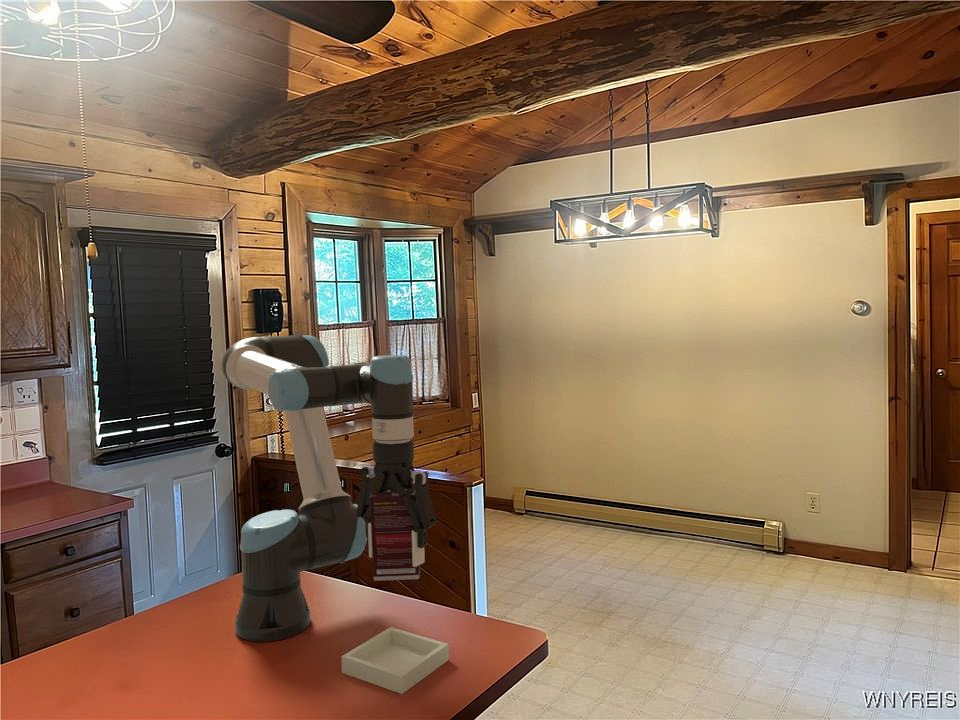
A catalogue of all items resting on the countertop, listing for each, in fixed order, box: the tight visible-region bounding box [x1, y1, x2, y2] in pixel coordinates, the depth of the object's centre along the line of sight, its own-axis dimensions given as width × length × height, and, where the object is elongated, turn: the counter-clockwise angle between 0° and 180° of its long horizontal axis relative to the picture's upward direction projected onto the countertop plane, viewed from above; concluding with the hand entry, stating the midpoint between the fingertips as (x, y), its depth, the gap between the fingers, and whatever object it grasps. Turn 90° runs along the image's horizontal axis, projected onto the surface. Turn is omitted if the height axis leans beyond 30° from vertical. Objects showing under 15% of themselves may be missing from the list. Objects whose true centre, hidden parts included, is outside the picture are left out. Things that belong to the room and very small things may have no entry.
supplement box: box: [370, 488, 421, 582], centre depth 134 cm, size 9×5×16 cm, turn 92°
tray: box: [340, 626, 450, 695], centre depth 134 cm, size 14×14×3 cm
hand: (396, 559), depth 134 cm, fingers closed on supplement box, 9 cm apart
